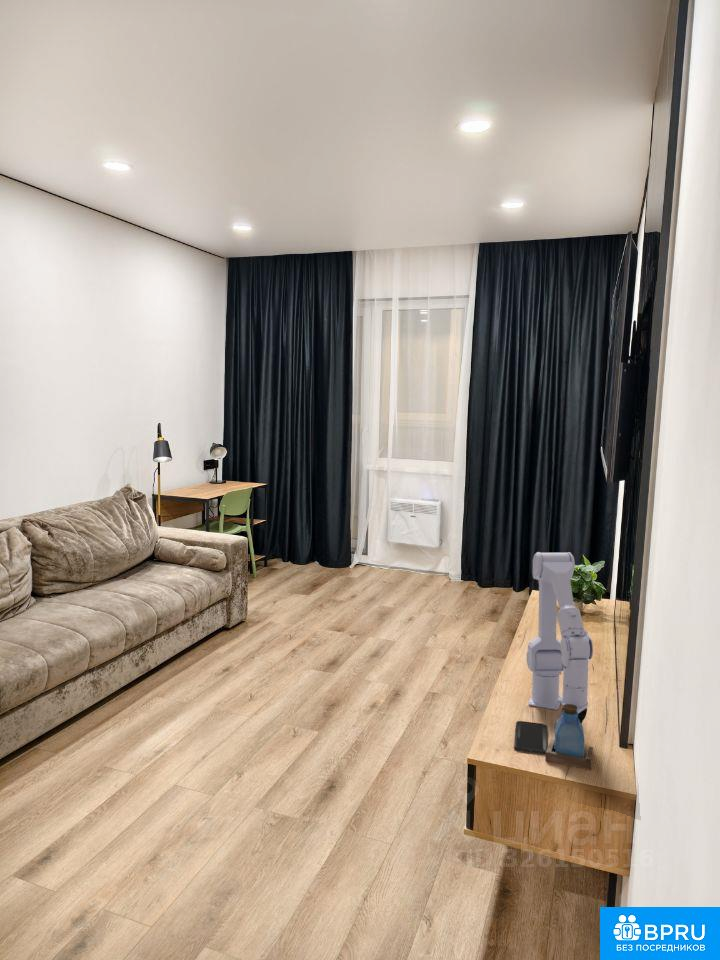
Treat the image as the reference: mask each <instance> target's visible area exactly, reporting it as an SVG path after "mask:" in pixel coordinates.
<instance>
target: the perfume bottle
mask: <svg viewBox="0 0 720 960" xmlns="http://www.w3.org/2000/svg"><path fill="white" fill-rule="evenodd" d="M562 708H564V710H563V711H562V710H561V715H560V716H559V718H558V719H557V721H556V722H555V731H554V733H555V734H554V740H555V748H554V752H557V753H562V754H567V755H572V756H577V757H582V758H585V734H584V728H583V727H584V726H583V724H581V722H580V720H579V718H577V717H578V712H577V706H575V705H572V704H565V705H562Z"/></svg>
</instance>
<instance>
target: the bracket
mask: <svg viewBox="0 0 720 960" xmlns="http://www.w3.org/2000/svg"><path fill="white" fill-rule="evenodd" d="M593 758H594V747H593V746H588V750H587V753H586V757H584V758H582V757H577V756H572V755H567V754H562V753H557V752H555V738H554V739H553V738H550V740H549V742H548V744H547V750H546V754H545V759H544V760H545V761H546V762H549V763H550V762H551V763H556V764H559V765H560V764H561V765H566V766H569V767H574V766H576V768H579V769H584V768H585V770H589V771H592V762H593Z"/></svg>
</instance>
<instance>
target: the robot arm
mask: <svg viewBox="0 0 720 960" xmlns="http://www.w3.org/2000/svg"><path fill="white" fill-rule="evenodd" d="M575 561H576V560H575V557H574V555H573V554H572V552H569V551H568V552H567V551H566V552H540V551H537V552H536V553H534V555H533V558H532V577H533V580H537V582H538V630H537V631H538V632H537V635H538V636H537V637H535V638H534V639H532V640H531V641H529V642H528V644H527V652H526V665H527V667H528V669H529V671H530V672H532V681H531V683H532V684H531V686H532V687H531V690H532V691H531V696H530V700H529V701H528V706H533V707H539V708H543V709H549V710H555V711H558V710H559V708H560V705H561V704H562V706H563V705H565V704H572V705H575V706H577V712H578V717H577V718H579V720H580V722H581V724H582V723H583V721H584V720H585V718H586V717H587V712H588V707H589V702H588V687H589V686H588V685H589V683H588V681H589V660H592V658H593V654H594V645H593V640H592V638H591V636H590V635H589V633H588V631H587V630H585V627H584V626H585V625H584V622H583V618H582V615H581V610H580V609H579V608H577V607H576V606H575V603H574V597H573V590H572V583H571V579H572V578H573V576H574V575H573V574H574V571H575V569H576V568H575V567H576V564H575V563H576V562H575ZM557 605H558V608H559V610H557ZM557 622H558V627H559V631H560V634H561V635H560V636H561V639H560V640H559V639H557ZM562 674H563V675H562ZM560 676H563V677H562V678H563V679H562V695H560V693H559V692H560ZM563 710H564V708H563V707H562V709H561V712H562V711H563ZM582 725H583V724H582Z"/></svg>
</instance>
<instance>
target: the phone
mask: <svg viewBox="0 0 720 960" xmlns="http://www.w3.org/2000/svg"><path fill="white" fill-rule="evenodd" d="M514 731H515V733H514V743H513V749H514V750H515V751H517V752H521V753H522V752H523V753H529V754H537V755H546V750H547V748H548V725H547V724H545V723H542V722H541V723H540V722H532V721H524V720H517V721H516V722H515V729H514Z"/></svg>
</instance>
